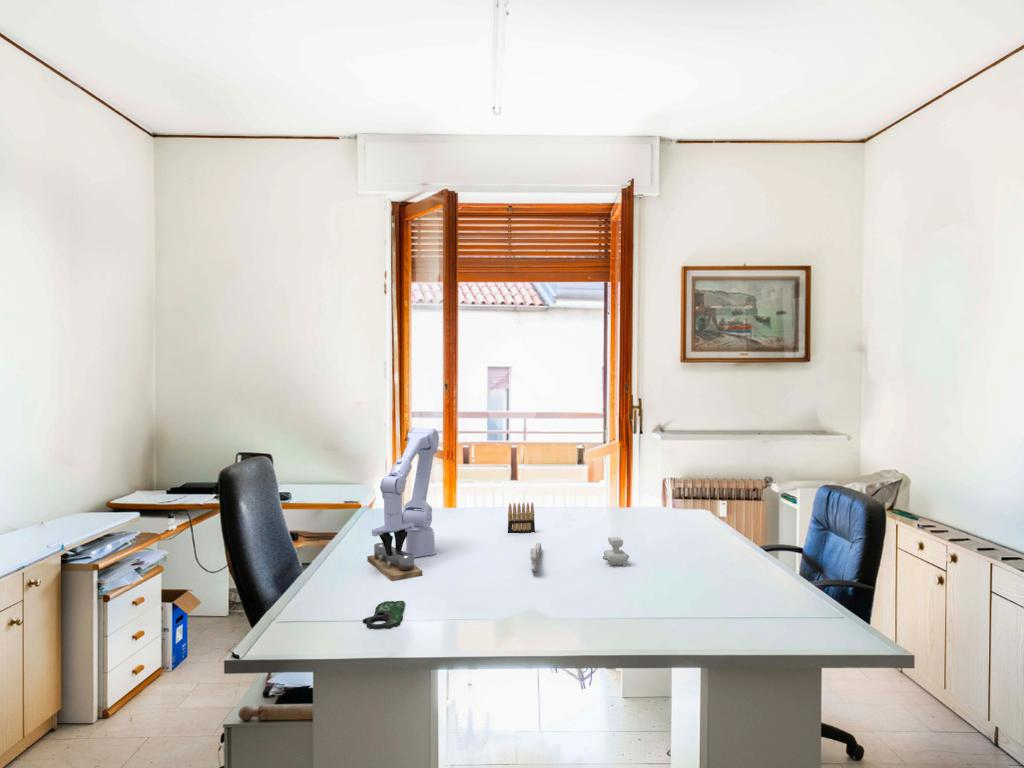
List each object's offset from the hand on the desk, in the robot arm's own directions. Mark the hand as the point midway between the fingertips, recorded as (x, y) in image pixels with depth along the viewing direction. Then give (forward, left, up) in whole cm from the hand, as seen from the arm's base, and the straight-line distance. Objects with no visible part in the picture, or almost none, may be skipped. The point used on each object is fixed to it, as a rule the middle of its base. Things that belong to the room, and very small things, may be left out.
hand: (393, 554), depth 205 cm
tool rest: (0, 0, -4) cm, 4 cm away
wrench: (-42, +20, -5) cm, 47 cm away
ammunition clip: (-58, -15, -5) cm, 60 cm away
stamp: (-64, +35, -5) cm, 73 cm away
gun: (+16, +37, -5) cm, 41 cm away
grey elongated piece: (0, 0, -2) cm, 2 cm away
